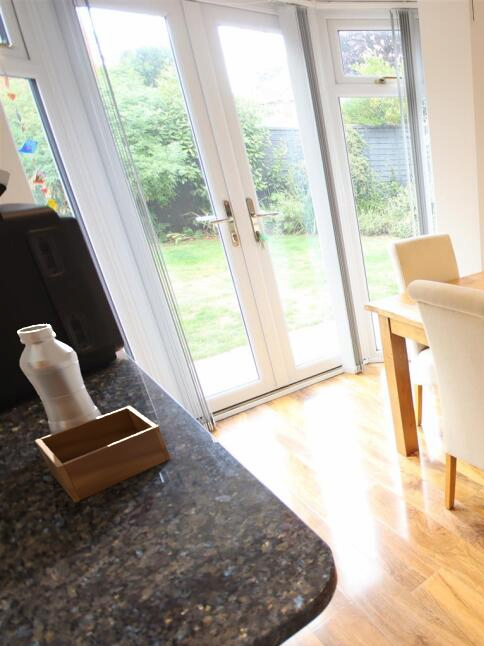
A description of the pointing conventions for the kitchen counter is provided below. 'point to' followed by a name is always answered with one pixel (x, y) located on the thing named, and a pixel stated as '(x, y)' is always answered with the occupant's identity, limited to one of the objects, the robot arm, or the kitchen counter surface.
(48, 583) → the kitchen counter surface
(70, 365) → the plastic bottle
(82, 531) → the kitchen counter surface
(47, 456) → the holder
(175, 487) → the kitchen counter surface
